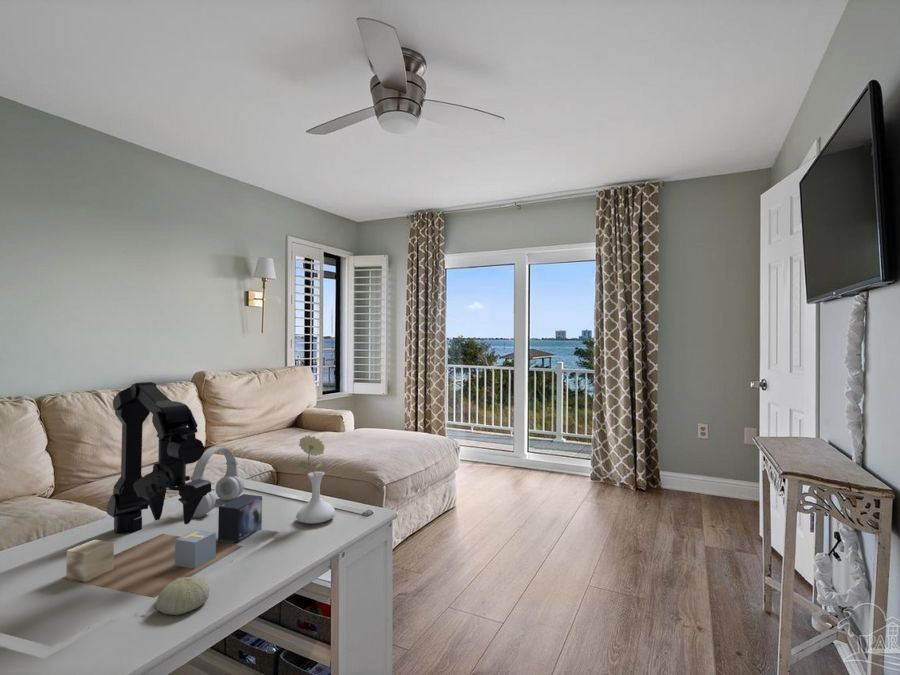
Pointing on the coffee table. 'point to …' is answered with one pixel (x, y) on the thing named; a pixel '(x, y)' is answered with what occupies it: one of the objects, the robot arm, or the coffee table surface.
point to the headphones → (225, 486)
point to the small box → (239, 518)
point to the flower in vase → (314, 486)
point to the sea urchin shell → (182, 595)
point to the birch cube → (90, 560)
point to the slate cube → (195, 548)
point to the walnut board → (151, 567)
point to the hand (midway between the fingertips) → (172, 521)
